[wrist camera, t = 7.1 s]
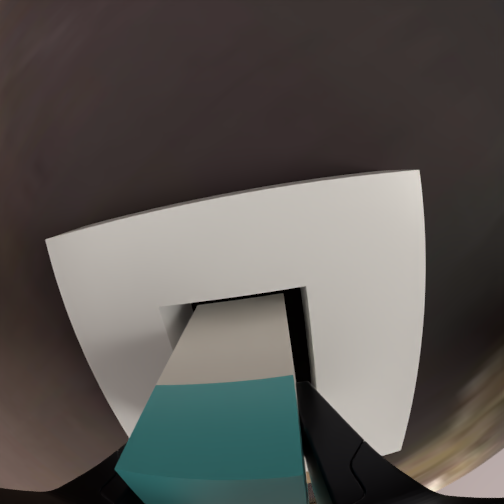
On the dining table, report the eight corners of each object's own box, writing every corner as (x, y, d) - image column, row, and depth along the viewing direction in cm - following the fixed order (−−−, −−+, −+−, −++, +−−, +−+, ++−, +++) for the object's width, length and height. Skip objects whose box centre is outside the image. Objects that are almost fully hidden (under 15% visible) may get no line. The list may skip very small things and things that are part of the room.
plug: (283, 293, 10) (303, 475, 3) (298, 401, 11) (312, 553, 4) (197, 304, 10) (114, 468, 3) (227, 408, 11) (202, 554, 5)
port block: (382, 170, 10) (419, 170, 7) (384, 410, 13) (400, 450, 10) (88, 224, 11) (45, 239, 8) (167, 434, 14) (153, 472, 11)
